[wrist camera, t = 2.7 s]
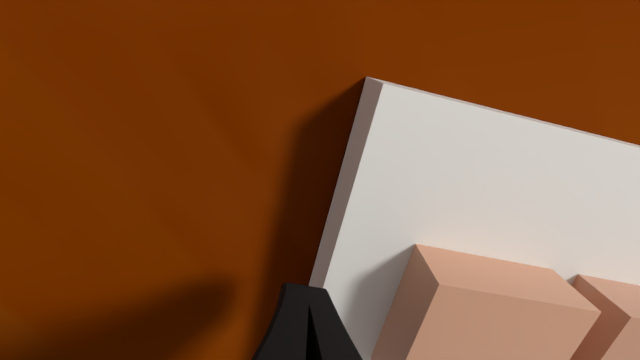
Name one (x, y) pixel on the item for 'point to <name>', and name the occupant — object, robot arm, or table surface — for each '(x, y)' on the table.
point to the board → (470, 199)
